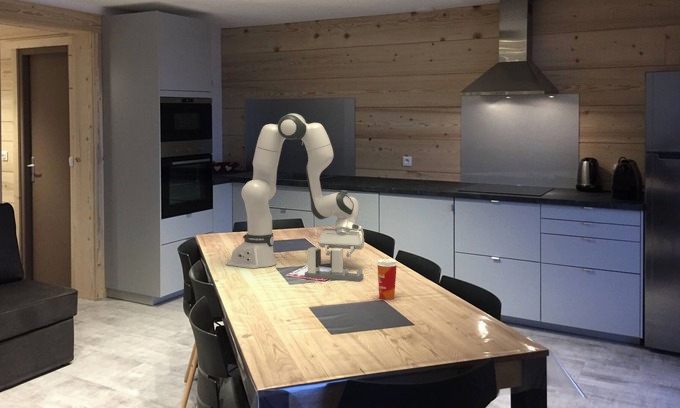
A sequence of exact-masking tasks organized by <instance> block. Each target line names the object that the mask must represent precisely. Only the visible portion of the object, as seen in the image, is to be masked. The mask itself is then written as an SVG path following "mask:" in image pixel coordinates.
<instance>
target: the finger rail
mask: <svg viewBox="0 0 680 408" xmlns="http://www.w3.org/2000/svg"><path fill="white" fill-rule="evenodd" d="M306 251H307V252H306V253H307V270H306V271H305V272H304V278H306V277H311V278H310V279H319V278H323V279H322V280H334V281H347V282H348V281H349V282H362V281H363V280H364V273H363V269H362V268H360V269H358V270H357V271H356V273H353V272H349V267H346V268H345V269H344V268H343V271H342V272H332V271H327V270H326V271H324V270H320V267H321V266H322V253H321V252H322V249H321V248H320V247H316V246H315V247H314V246H311V247H309V248H308V249H307V250H306Z"/></svg>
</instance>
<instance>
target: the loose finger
mask: <svg viewBox="0 0 680 408" xmlns="http://www.w3.org/2000/svg"><path fill="white" fill-rule="evenodd" d="M329 251H330V256H329V257H330V261H329V262H330V264H329V265H330V268H331V272H342V273H343V270H344V249H343V248H332V249H331V250H329Z"/></svg>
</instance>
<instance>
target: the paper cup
mask: <svg viewBox="0 0 680 408" xmlns="http://www.w3.org/2000/svg"><path fill="white" fill-rule="evenodd" d="M397 262H398V261H397V260H396V259H394V258H382V259H378V260H377V262H376V265H377V282H378V283H377V285H378V297H379V299H380V300H387V301H388V300H394V298H395V293H396V282H397V281H396V280H397V279H396V278H397V267H398V263H397Z"/></svg>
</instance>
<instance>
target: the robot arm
mask: <svg viewBox="0 0 680 408" xmlns="http://www.w3.org/2000/svg"><path fill="white" fill-rule="evenodd" d="M327 133H328V132H327V131H326V129H325V127H324V126H323V124H321V123H319V122H311V123H307V120H306V119H305V117H304V116H303V115H301V114H299V113H288V114H286V115H284V116H282V117H281V118H280V119H279V120H278V123H277V124H275V123H274V124H273V123H269V124H265V125H264V126H262V128H261V130H260V133H259V135H258V139H257V143H256V146H255V150H254V151H255V152H254V155H253V160H252V166H253V172H252V173H253V175H252V180H249V181H247V182H246V184H244V185H243V187H242V188H241V194H240V195H241V198H242V200H243V202H244V206H245V207H244V208H245V212H246V216H247V217H246V218H247V219H246V221H247V233H246V234H244V235H242V239H243V240H244V241H243V242H241V243H240V244H239V245H238V246H237V247H236V248H234V249H233V250H232V253H231V257H230V258H231V259H229V260H227V261H226V263H225V264H226V266H231V267H239V268H245V269H256V268H257V269H258V268H267V267H272V266H275V265H276V264H277V262H276V261H277V260H276V258H275V254H274V243H275V242H274V240H275V239H274V233H273V215H272V213H271V209H270V205H269V201H270V200H272V198H273V197H274V196H275V194H276V193H277V175H278V174H277V173H278V166H279V161H280V156H281V152H282V148H283V144H284V142H285V140H290V141H292V140H301V141H302V142H303V144H304V146H305V150H306V152H307V158H308V159H307V160H308V161H307V164H306V166H305V174H306V180H307V181H306V182H307V186H308V193H309V197H310V210H311V214H312V215H313V216H314V217H315V218H316V219H318V220H325V219H327V218H330V217H334V216H336V217H337V219H336V221H335V225H334V228H324V229H322V230H321V232H320V235H319V238H318V240H317V243H318V246H319V248H322V249H323V248H324V249H325V255H326V256H329V257H330V251H331V250H330V249H335V248H343V250H348V251H346V257H348V258H351V256H352V254H353V253H354V252H355V250H357V251H358V250H359V251H360V250H362V249H364V247H365V238H364V236H365V233H364V229H363V227H362V226H361V225H359V224H357V223H356V221H357V220H358V218H359V217H358V216H359V210H360V204H359V201H358V200H357V198H355V197H353V196H351V195H350V196H348V194H346V193H345V192H342V191H338V192H333V193H331V194H327V195H324V194H322V193H323V192H322V187H321V182H320V176H321V174H322V172H323V171H324V170H325V169H326V168H328V166H329V165H330V164H331V163H332V162H333V159H334V156H335V155H334V150H333V146H332V143H331V140H330V138H329V135H328V134H327Z"/></svg>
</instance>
